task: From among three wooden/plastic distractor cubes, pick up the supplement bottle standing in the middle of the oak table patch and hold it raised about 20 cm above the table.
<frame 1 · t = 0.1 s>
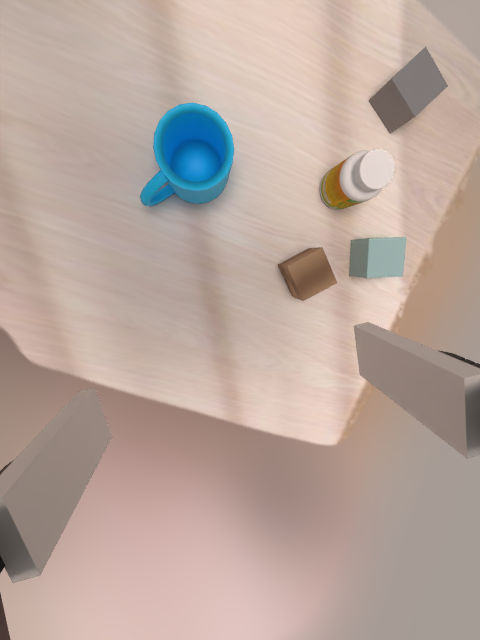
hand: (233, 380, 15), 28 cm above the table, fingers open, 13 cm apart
supplement bottle: (337, 189, 41), on the table
teal cube: (366, 257, 43), on the table
mug: (185, 180, 38), on the table
charcoal cube: (393, 104, 39), on the table
walnut cube: (300, 272, 42), on the table
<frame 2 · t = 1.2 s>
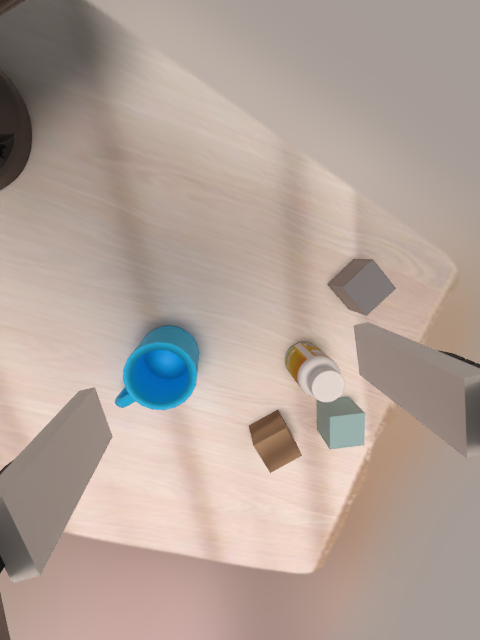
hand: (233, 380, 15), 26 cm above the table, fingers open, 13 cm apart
supplement bottle: (302, 358, 44), on the table
teal cube: (332, 412, 46), on the table
mug: (159, 362, 42), on the table
charcoal cube: (351, 284, 42), on the table
walnut cube: (270, 430, 45), on the table
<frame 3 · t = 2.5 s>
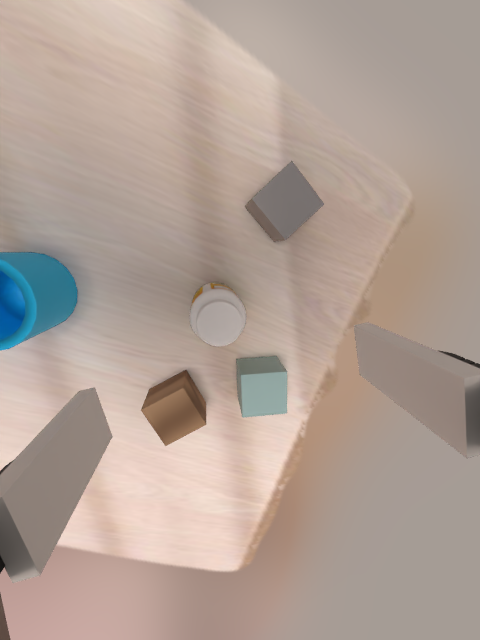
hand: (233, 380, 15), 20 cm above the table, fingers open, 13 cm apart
supplement bottle: (215, 304, 35), on the table
teal cube: (256, 376, 37), on the table
mug: (25, 301, 32), on the table
charcoal cube: (276, 209, 33), on the table
walnut cube: (178, 395, 36), on the table
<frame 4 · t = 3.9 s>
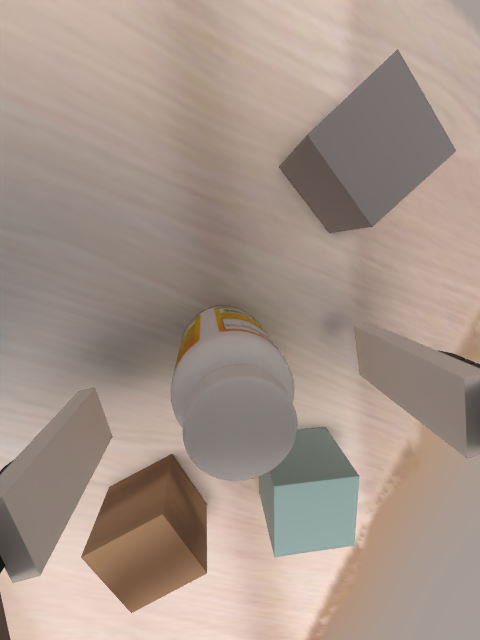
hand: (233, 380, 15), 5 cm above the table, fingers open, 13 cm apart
supplement bottle: (223, 344, 20), on the table
teal cube: (291, 459, 22), on the table
charcoal cube: (335, 172, 18), on the table
walnut cube: (159, 494, 21), on the table
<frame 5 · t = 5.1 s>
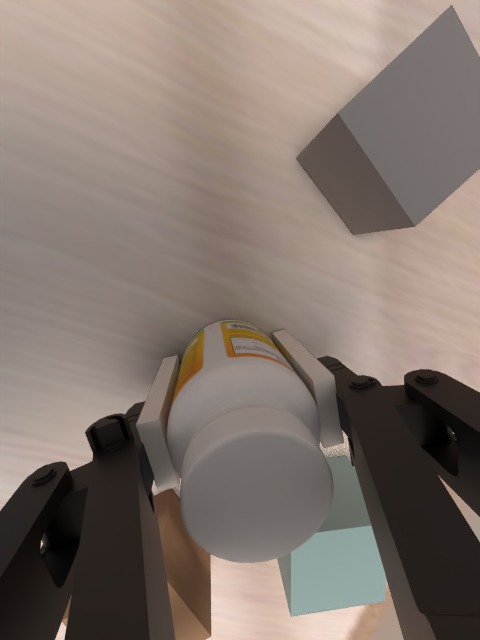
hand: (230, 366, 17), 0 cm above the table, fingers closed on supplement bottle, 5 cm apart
supplement bottle: (230, 362, 17), on the table, touching gripper
teal cube: (307, 491, 19), on the table
charcoal cube: (361, 164, 15), on the table
walnut cube: (156, 532, 19), on the table
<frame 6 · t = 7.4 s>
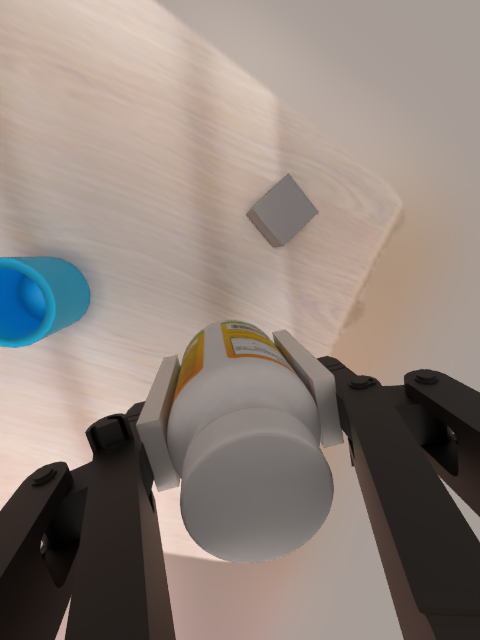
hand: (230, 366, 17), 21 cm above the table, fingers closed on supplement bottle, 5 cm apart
supplement bottle: (230, 363, 17), point 20 cm above the table, touching gripper
mug: (41, 302, 35), on the table
charcoal cube: (274, 216, 35), on the table
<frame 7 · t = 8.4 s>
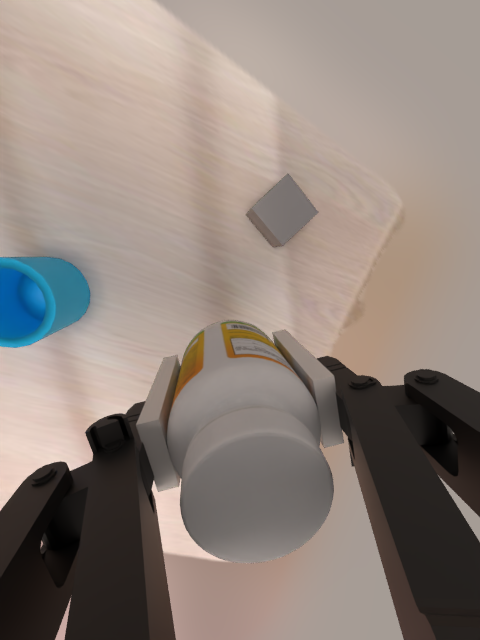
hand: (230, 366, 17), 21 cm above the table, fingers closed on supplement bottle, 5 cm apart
supplement bottle: (230, 363, 17), point 20 cm above the table, touching gripper
mug: (41, 302, 35), on the table
charcoal cube: (274, 216, 35), on the table
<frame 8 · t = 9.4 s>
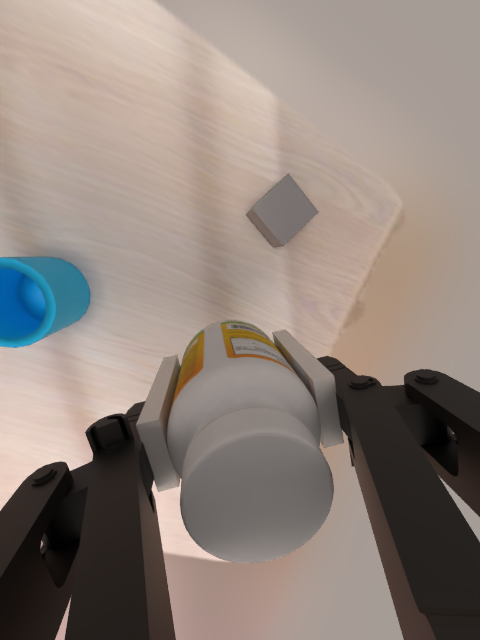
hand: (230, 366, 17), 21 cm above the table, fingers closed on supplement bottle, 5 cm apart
supplement bottle: (230, 363, 17), point 20 cm above the table, touching gripper
mug: (41, 302, 35), on the table
charcoal cube: (274, 216, 35), on the table
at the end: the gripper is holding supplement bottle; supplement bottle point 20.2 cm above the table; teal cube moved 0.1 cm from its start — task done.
